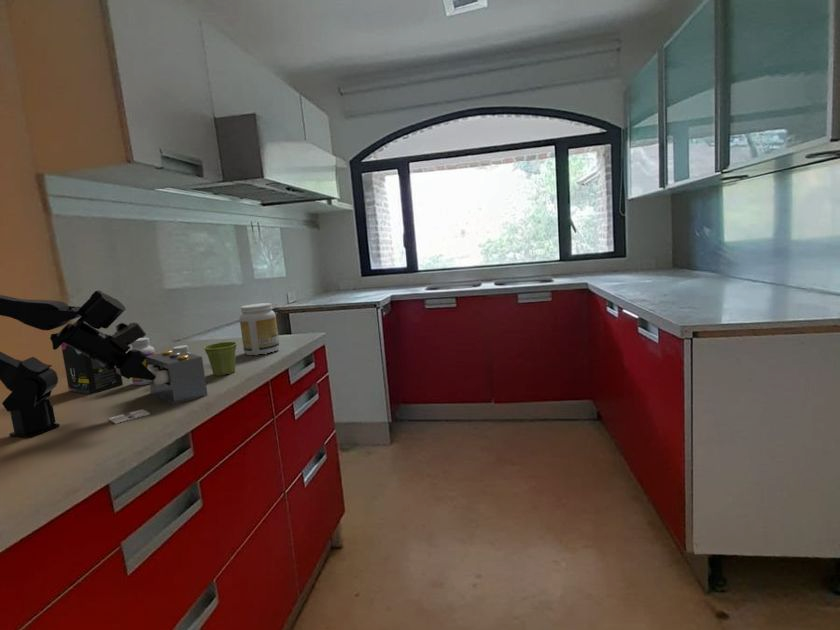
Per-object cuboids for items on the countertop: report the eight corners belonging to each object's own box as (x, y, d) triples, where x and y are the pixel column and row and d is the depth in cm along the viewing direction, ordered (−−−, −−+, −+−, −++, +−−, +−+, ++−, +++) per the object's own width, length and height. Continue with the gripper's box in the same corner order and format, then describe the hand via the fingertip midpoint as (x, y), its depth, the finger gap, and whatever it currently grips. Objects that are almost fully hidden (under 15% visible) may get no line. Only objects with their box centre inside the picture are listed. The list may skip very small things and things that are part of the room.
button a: (158, 386, 117) (156, 373, 116) (154, 384, 119) (151, 371, 119) (173, 382, 119) (171, 370, 119) (169, 380, 122) (167, 368, 121)
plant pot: (230, 377, 141) (226, 348, 139) (200, 378, 142) (196, 349, 141) (246, 368, 150) (243, 341, 148) (219, 369, 151) (215, 342, 150)
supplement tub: (283, 347, 179) (277, 301, 177) (275, 354, 167) (269, 305, 165) (249, 350, 179) (243, 304, 176) (239, 357, 167) (233, 308, 164)
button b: (146, 384, 120) (144, 371, 120) (142, 382, 122) (140, 369, 122) (161, 380, 123) (159, 368, 122) (157, 378, 125) (155, 366, 124)
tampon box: (68, 391, 138) (58, 341, 136) (101, 382, 146) (93, 334, 144) (90, 394, 133) (80, 342, 131) (123, 385, 141) (115, 335, 139)
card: (115, 424, 107) (114, 422, 107) (109, 419, 110) (108, 417, 110) (149, 414, 112) (149, 412, 112) (142, 410, 115) (142, 408, 115)
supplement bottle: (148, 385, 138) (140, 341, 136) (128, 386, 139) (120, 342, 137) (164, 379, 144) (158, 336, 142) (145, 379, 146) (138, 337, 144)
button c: (152, 377, 126) (150, 365, 125) (148, 376, 128) (146, 364, 128) (166, 374, 128) (164, 362, 128) (162, 372, 131) (160, 361, 130)
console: (174, 404, 118) (168, 361, 117) (151, 392, 130) (144, 354, 129) (207, 395, 124) (201, 354, 123) (182, 384, 136) (176, 347, 134)
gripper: (129, 315, 105) (189, 354, 114) (106, 311, 118) (162, 346, 127) (92, 359, 100) (158, 396, 110) (73, 350, 113) (134, 383, 123)
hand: (154, 378), depth 117 cm, fingers closed, pressing on button a
